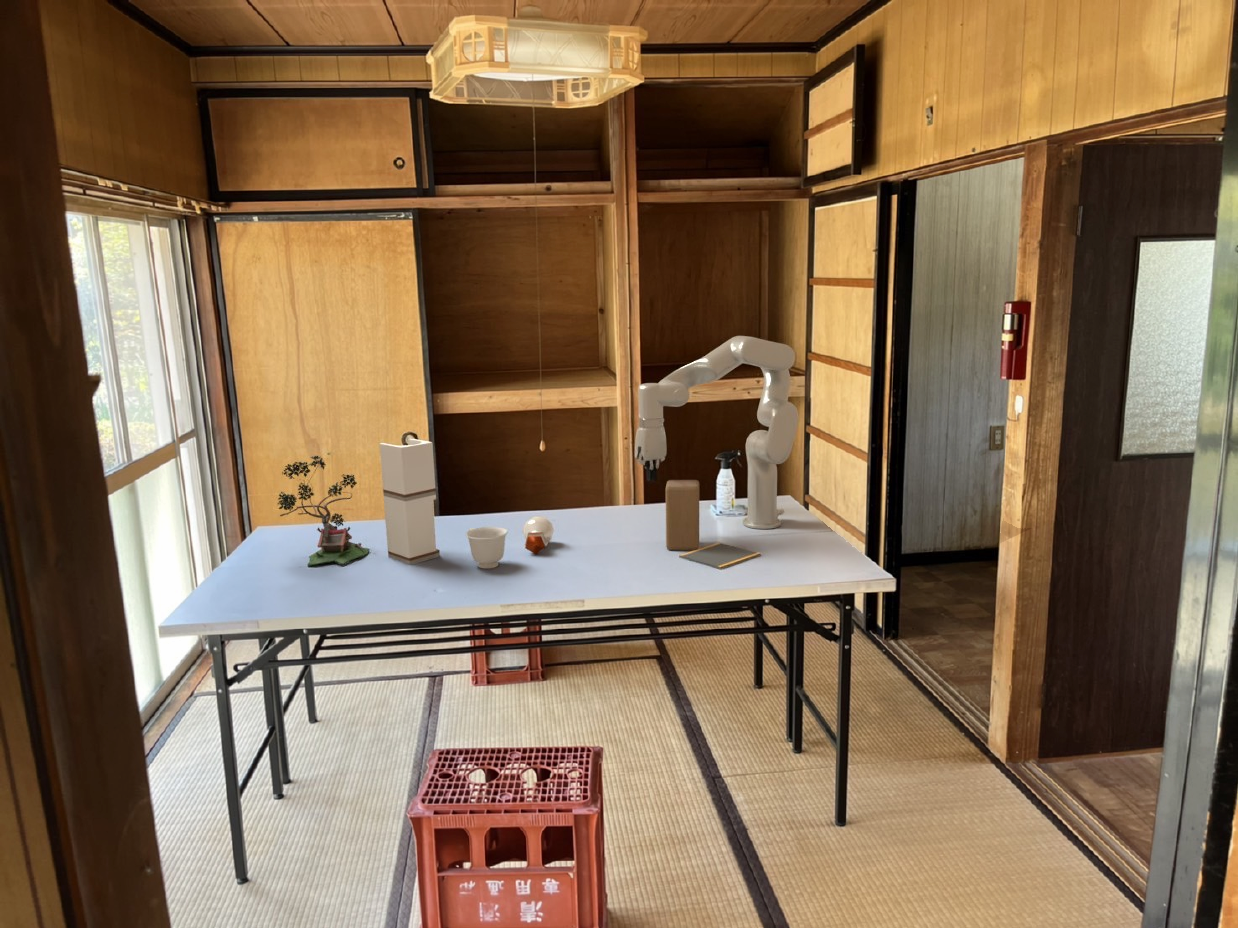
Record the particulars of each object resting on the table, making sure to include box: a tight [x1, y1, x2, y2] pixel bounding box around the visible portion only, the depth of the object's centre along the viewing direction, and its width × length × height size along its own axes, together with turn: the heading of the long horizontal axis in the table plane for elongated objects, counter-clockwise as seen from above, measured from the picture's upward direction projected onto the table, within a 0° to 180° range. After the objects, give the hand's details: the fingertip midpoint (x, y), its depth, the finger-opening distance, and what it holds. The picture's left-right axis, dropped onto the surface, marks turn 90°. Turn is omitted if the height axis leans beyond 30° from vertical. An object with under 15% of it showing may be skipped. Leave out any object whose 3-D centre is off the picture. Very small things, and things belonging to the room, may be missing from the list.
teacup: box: [465, 526, 508, 569], centre depth 252 cm, size 12×15×10 cm
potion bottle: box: [522, 515, 555, 555], centre depth 267 cm, size 9×10×15 cm
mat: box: [678, 542, 761, 570], centre depth 255 cm, size 18×16×1 cm
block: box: [665, 479, 700, 551], centre depth 264 cm, size 10×10×20 cm
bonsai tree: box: [277, 455, 371, 568], centre depth 255 cm, size 35×24×32 cm
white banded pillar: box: [379, 437, 441, 566], centre depth 258 cm, size 11×11×35 cm
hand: (651, 480), depth 272 cm, fingers closed
